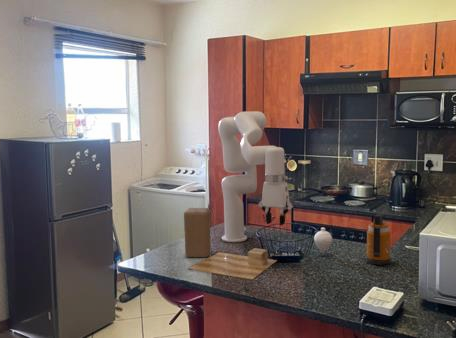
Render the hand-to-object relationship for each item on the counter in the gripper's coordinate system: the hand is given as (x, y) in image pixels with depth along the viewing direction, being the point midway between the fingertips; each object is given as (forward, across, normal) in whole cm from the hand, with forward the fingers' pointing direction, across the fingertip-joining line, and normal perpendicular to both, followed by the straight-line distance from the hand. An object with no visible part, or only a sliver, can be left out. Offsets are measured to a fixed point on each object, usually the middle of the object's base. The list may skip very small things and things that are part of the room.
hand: (275, 223), depth 178 cm
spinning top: (+18, -13, -21) cm, 30 cm away
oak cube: (+17, +8, 0) cm, 19 cm away
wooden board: (+17, +16, +6) cm, 24 cm away
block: (+18, +37, 0) cm, 41 cm away
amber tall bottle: (+18, -36, -20) cm, 45 cm away
